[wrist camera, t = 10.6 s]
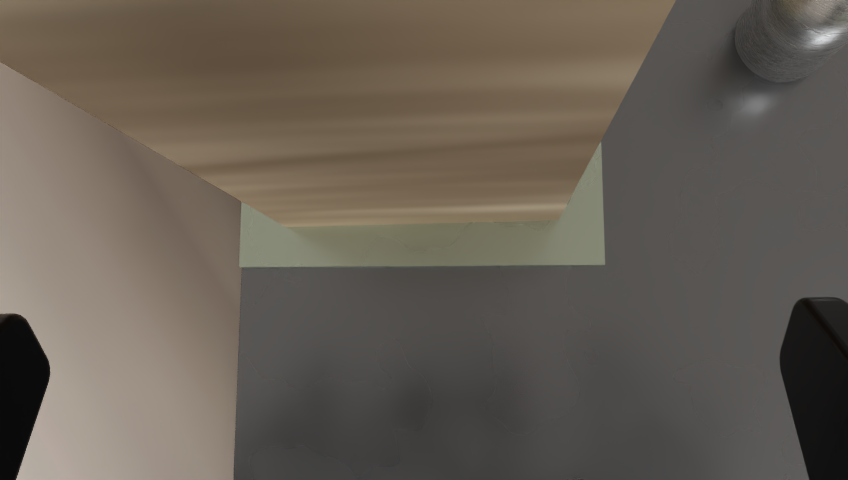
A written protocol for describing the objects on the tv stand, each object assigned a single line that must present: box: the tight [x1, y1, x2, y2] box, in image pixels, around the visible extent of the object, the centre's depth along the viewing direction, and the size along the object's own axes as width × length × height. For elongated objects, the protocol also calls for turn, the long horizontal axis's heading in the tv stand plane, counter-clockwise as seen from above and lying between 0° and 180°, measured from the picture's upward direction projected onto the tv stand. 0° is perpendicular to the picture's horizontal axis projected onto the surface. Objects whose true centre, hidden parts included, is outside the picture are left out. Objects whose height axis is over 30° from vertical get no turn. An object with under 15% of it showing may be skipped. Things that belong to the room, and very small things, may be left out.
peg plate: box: [234, 0, 848, 480], centre depth 15 cm, size 17×16×6 cm
